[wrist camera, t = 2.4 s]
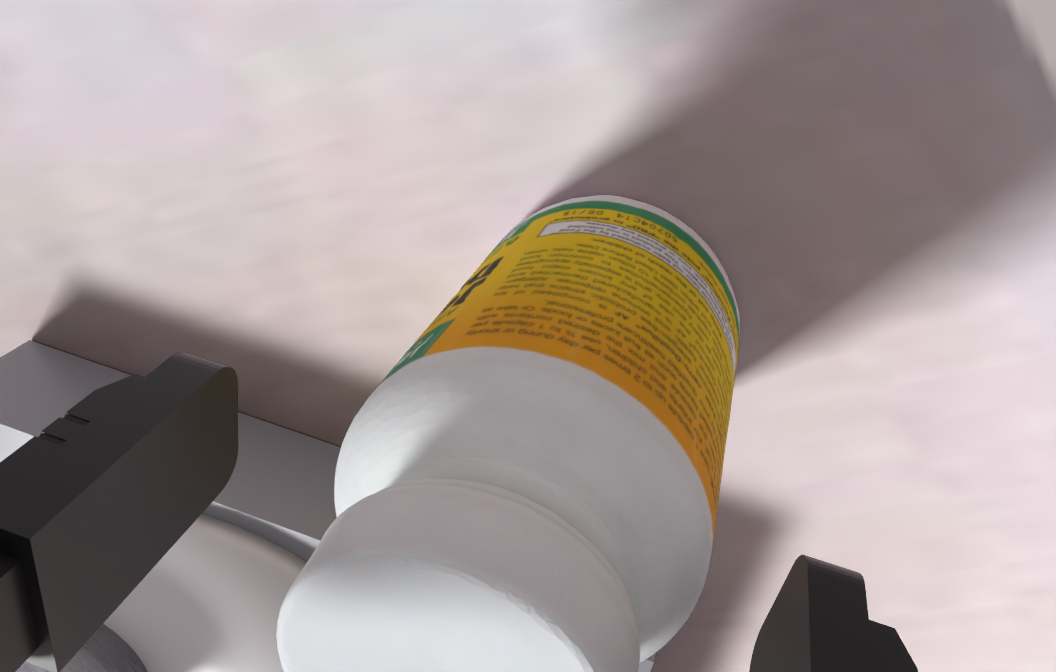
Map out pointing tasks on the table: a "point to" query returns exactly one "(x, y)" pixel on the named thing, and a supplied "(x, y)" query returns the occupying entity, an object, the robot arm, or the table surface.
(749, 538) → the table surface
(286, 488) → the scale
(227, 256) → the table surface
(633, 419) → the supplement bottle
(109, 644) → the cylinder
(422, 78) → the table surface
